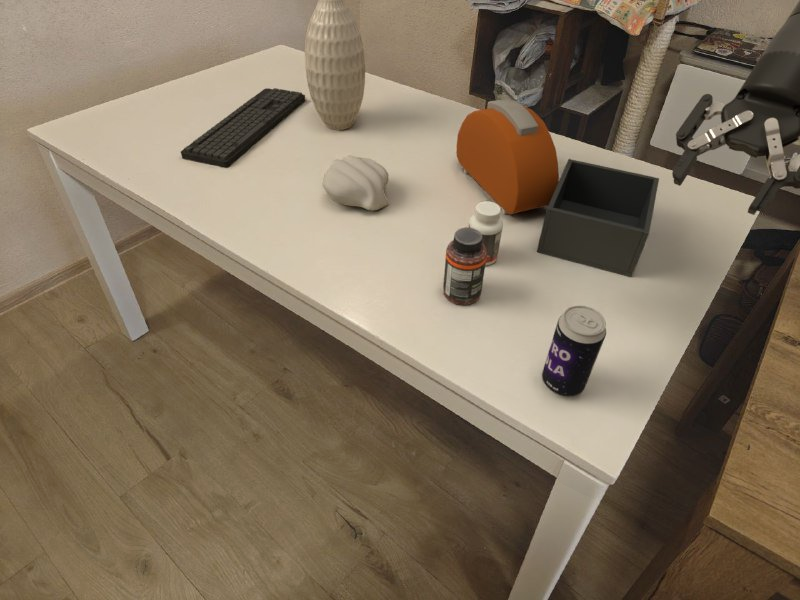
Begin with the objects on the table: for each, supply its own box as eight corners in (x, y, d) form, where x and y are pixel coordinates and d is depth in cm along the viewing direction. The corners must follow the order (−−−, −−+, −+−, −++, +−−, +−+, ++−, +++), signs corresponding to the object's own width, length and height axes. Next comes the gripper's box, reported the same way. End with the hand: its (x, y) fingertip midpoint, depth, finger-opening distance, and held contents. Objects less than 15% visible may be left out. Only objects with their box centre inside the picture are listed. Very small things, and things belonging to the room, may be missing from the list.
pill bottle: (460, 261, 91) (466, 212, 84) (470, 243, 94) (477, 195, 87) (491, 270, 89) (500, 221, 82) (501, 252, 93) (509, 203, 86)
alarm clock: (553, 215, 101) (574, 130, 89) (511, 226, 98) (527, 139, 87) (490, 156, 116) (501, 78, 105) (453, 164, 114) (460, 84, 102)
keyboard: (266, 93, 138) (265, 85, 137) (306, 100, 136) (305, 92, 134) (180, 158, 114) (178, 149, 113) (227, 168, 111) (225, 159, 110)
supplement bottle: (452, 276, 88) (458, 218, 80) (486, 289, 86) (496, 230, 78) (435, 298, 84) (440, 239, 76) (471, 311, 82) (479, 252, 74)
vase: (301, 130, 124) (285, -8, 105) (327, 108, 132) (317, -23, 113) (351, 141, 120) (344, 0, 101) (375, 118, 129) (373, -16, 110)
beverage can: (551, 360, 75) (571, 296, 67) (590, 379, 73) (616, 316, 65) (533, 386, 72) (552, 323, 64) (574, 407, 70) (598, 344, 61)
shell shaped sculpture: (319, 184, 107) (316, 155, 103) (381, 177, 110) (381, 147, 105) (329, 222, 98) (326, 191, 94) (397, 212, 101) (397, 182, 96)
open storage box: (643, 220, 100) (659, 178, 94) (631, 277, 88) (649, 233, 82) (558, 200, 104) (568, 158, 98) (536, 252, 93) (546, 208, 87)
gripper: (730, 34, 61) (651, 162, 63) (877, 68, 54) (783, 212, 56) (728, 69, 68) (656, 184, 69) (858, 104, 61) (774, 232, 62)
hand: (712, 196), depth 63 cm, fingers open, 8 cm apart
